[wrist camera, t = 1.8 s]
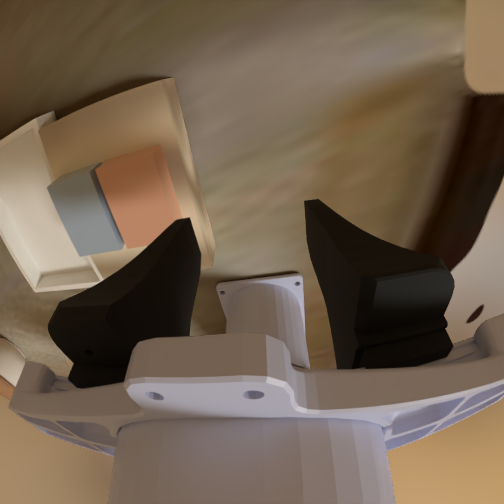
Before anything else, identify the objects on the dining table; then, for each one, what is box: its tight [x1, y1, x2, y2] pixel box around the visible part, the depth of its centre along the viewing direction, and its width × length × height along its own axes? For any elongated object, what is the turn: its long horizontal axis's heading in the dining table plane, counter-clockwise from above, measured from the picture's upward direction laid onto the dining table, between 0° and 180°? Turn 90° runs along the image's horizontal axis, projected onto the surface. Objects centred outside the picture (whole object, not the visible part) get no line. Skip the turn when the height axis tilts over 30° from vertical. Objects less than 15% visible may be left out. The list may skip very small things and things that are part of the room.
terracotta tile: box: [95, 145, 183, 249], centre depth 17 cm, size 6×4×2 cm, turn 9°
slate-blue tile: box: [47, 162, 125, 257], centre depth 18 cm, size 6×4×2 cm, turn 9°
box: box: [0, 111, 104, 293], centre depth 21 cm, size 16×11×2 cm
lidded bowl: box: [0, 337, 26, 400], centre depth 34 cm, size 13×13×11 cm
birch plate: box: [38, 77, 216, 279], centre depth 20 cm, size 14×10×3 cm
